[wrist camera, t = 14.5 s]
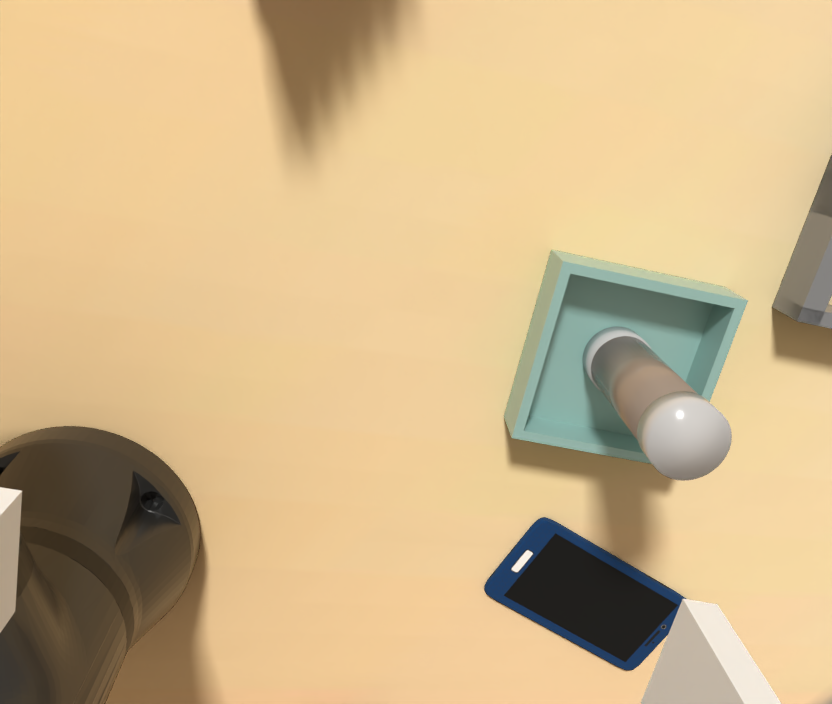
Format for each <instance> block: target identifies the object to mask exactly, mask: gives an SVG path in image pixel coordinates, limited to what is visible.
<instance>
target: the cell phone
mask: <svg viewBox="0 0 832 704" xmlns="http://www.w3.org/2000/svg"><path fill="white" fill-rule="evenodd" d="M484 589H485V592H486V594H487V595H489V596H490V597H492V598H493V599H495V600H496V601H498V602H500V603H502V604H503V605H505V606H507V607H509V608H511V609H513V610H514V611H516V612H518V613H520V614H522V615H524V616H525V617H527V618H529V619H531V620H533V621H535V622H537V623H538V624H540V625H542V626H544V627H546V628H548V629H549V630H551V631H553V632H555V633H557V634H559V635H560V636H562V637H564V638H566V639H568V640H570V641H571V642H573V643H575V644H577V645H579V646H581V647H582V648H584V649H586V650H588V651H590V652H592V653H594V654H595V655H597V656H599V657H601V658H603V659H605V660H606V661H608V662H610V663H612V664H614V665H616V666H618V667H620V668H622V669H624V670H633V669H634V668H636V667H637V666H638V665H640V664H641V663H642V662H643V660H644V659H645V658H646V657H647V656H648V655H649V654H650V653H651V652H652V651H653V650H654V649H655V648H656V647H657V645H658V644H659V643H660V642H661V641H662V640H663V639H664V638H665V637H666V636H667V635H668V634H669V631H670V629H671V626H672V624H673V622H674V619H675V617H676V614H677V612H678V609H679V607H680V604H681V602H682V599H686V598H684V597H683V596H681V595H680V594H678V593H677V592H675V591H674V590H672V589H670V588H669V587H667V586H665V585H663V584H662V583H660V582H658V581H657V580H655V579H653V578H651V577H650V576H648V575H646V574H645V573H643V572H641V571H639V570H638V569H636V568H634V567H633V566H631V565H629V564H627V563H626V562H624V561H622V560H621V559H619V558H617V557H615V556H614V555H612V554H610V553H609V552H607V551H605V550H603V549H602V548H600V547H598V546H597V545H595V544H593V543H591V542H590V541H588V540H586V539H585V538H583V537H581V536H579V535H578V534H576V533H574V532H573V531H571V530H569V529H567V528H566V527H564V526H562V525H561V524H559V523H557V522H555V521H553V520H551V519H548V518H545V517H543V518H540V519H538V520H537V521H536V522H535V523H534V524H533V525H532V526H531V527H530V528H529V530H528V531H527V532H526V533H525V534H524V536H523V537H522V538H521V539H520V541H519V542H518V543H517V544H516V545H515V547H514V548H513V549H512V550H511V552H510V553H509V554H508V555H507V557H506V558H505V559H504V560H503V561H502V563H501V564H500V565H499V566H498V568H497V569H496V570H495V571H494V573H493V574H492V575H491V576H490V577H489V579H488V580H487V582H486V584H485V588H484Z"/></svg>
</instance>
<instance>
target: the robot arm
mask: <svg viewBox="0 0 832 704" xmlns="http://www.w3.org/2000/svg"><path fill="white" fill-rule="evenodd" d="M199 545H200V526H199V520H198V516H197V512H196V509H195V506H194V503H193V501H192V499H191V497H190V495H189V493H188V491H187V489H186V488H185V486H184V485H183V483H182V482H181V480H180V479H179V478H178V476H177V475H176V474H175V473H174V472H173V471H172V469H171V468H170V467H169V466H168V465H167V464H165V463H164V462H163V461H162V460H161V459H160V458H158V457H157V456H156V455H155V454H153V453H152V452H150V451H149V450H147V449H146V448H144V447H142V446H141V445H139V444H137V443H135V442H133V441H131V440H129V439H127V438H124V437H122V436H119V435H117V434H114V433H111V432H107V431H103V430H99V429H94V428H87V427H76V426H64V427H52V428H45V429H40V430H36V431H33V432H30V433H27V434H24V435H21V436H19V437H17V438H15V439H13V440H11V441H9V442H8V443H6V444H4V445H3V446H1V447H0V704H105V703H106V700H107V698H108V696H109V693H110V691H111V689H112V686H113V684H114V682H115V679H116V677H117V674H118V672H119V670H120V668H121V665H122V663H123V660H124V658H125V656H126V654H127V651H128V650H129V649H130V648H131V647H132V646H133V645H134V644H135V643H136V642H137V641H138V640H139V639H140V638H141V637H142V636H144V635H145V634H146V633H147V632H148V631H149V630H150V629H151V628H152V627H153V626H154V625H155V624H156V623H157V622H158V621H159V620H160V619H162V618H163V617H164V616H165V615H166V614H167V613H168V612H169V611H170V610H171V609H172V607H173V606H174V605H175V603H176V602H177V601H178V599H179V598H180V596H181V595H182V593H183V591H184V589H185V587H186V585H187V583H188V581H189V578H190V575H191V573H192V570H193V568H194V565H195V563H196V560H197V556H198V552H199ZM641 704H781V702H780V701H779V699H778V697H777V696H776V694H775V693H774V691H773V690H772V688H771V687H770V685H769V683H768V682H767V680H766V679H765V677H764V676H763V674H762V673H761V671H760V670H759V668H758V666H757V665H756V663H755V662H754V660H753V659H752V657H751V656H750V654H749V652H748V651H747V649H746V648H745V646H744V645H743V643H742V642H741V640H740V639H739V637H738V635H737V634H736V632H735V631H734V629H733V628H732V626H731V625H730V623H729V621H728V620H727V618H726V617H725V615H724V614H723V612H722V611H721V609H720V608H719V606H718V604H713V603H706V602H700V601H694V600H688V599H682V602H681V604H680V607H679V609H678V612H677V614H676V617H675V619H674V622H673V624H672V626H671V629H670V631H669V634H668V636H667V639H666V641H665V644H664V646H663V649H662V651H661V654H660V656H659V659H658V661H657V664H656V666H655V668H654V671H653V673H652V676H651V678H650V681H649V683H648V686H647V688H646V691H645V693H644V696H643V698H642V701H641Z"/></svg>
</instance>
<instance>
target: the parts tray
mask: <svg viewBox="0 0 832 704" xmlns="http://www.w3.org/2000/svg"><path fill="white" fill-rule="evenodd" d="M747 302H748V300H746V299H744V298H743V297H741V296H739V295H737V294H736V293H734V292H732V291H731V290H729V289H727V288H726V287H723V286H718V285H713V284H709V283H704V282H699V281H695V280H690V279H686V278H681V277H676V276H672V275H667V274H662V273H658V272H653V271H648V270H644V269H639V268H634V267H630V266H625V265H620V264H616V263H611V262H607V261H602V260H597V259H593V258H588V257H583V256H579V255H574V254H569V253H565V252H560V251H555V250H551V252H550V256H549V260H548V263H547V267H546V270H545V274H544V277H543V281H542V284H541V288H540V291H539V295H538V298H537V302H536V305H535V309H534V312H533V316H532V319H531V323H530V326H529V330H528V333H527V337H526V340H525V344H524V347H523V351H522V354H521V358H520V361H519V365H518V368H517V372H516V375H515V379H514V383H513V386H512V390H511V393H510V397H509V400H508V404H507V407H506V411H505V414H504V419H505V421H506V424H507V427H508V430H509V432H510V435H511V438H514V439H520V440H525V441H530V442H536V443H541V444H547V445H552V446H558V447H563V448H568V449H574V450H579V451H585V452H590V453H596V454H601V455H606V456H612V457H617V458H623V459H628V460H634V461H639V462H644V463H650V464H652V463H651V462H650V460H649V459H648V457H647V456H646V455H645V453H644V452H643V451H642V449H641V447H640V445H639V442H638V440H637V439H636V438H635V436H634V435H633V434H632V432H631V431H630V430H629V428H628V427H627V426H626V424H625V423H624V421H623V420H622V419H621V417H620V416H619V415H618V413H617V412H616V411H615V409H614V408H613V407H612V405H611V404H610V403H609V401H608V400H607V398H606V397H605V396H604V394H603V393H602V392H601V391H600V390H599V389H598V388H597V387H596V386H595V385H594V384H593V382H592V381H591V380H590V378H589V377H588V375H587V374H586V372H585V370H584V367H583V362H582V358H583V352H584V349H585V347H586V345H587V343H588V342H589V340H590V339H591V338H592V337H593V336H594V335H595V334H596V333H598V332H599V331H601V330H603V329H606V328H609V327H615V326H620V327H626V328H629V329H631V330H633V331H635V332H636V333H637V334H638V335H639V336H640V337H641V338H642V339H643V340H644V341H646V342H647V344H648V345H649V346H650V347H651V349H652V351H654V352H655V353H656V354H657V355H658V356H659V357H660V358H661V359H662V360H663V361H664V362H665V363H666V364H667V365H668V366H669V367H670V368H671V369H672V370H673V371H674V372H675V373H677V374H678V375H679V376H680V377H681V378H682V379H683V380H684V381H685V382H686V383H687V384H688V385H689V386H690V387H691V388H692V389H693V390H694V391H695V392H696V393H697V394H699V395H701V396H703V397H704V398H705V399H707V400H708V401H709V402H710V399H711V396H712V394H713V391H714V389H715V386H716V383H717V381H718V378H719V375H720V373H721V370H722V367H723V365H724V362H725V360H726V357H727V354H728V352H729V349H730V346H731V344H732V341H733V339H734V336H735V333H736V331H737V328H738V325H739V323H740V320H741V317H742V315H743V312H744V310H745V307H746V304H747Z"/></svg>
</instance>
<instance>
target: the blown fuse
mask: <svg viewBox="0 0 832 704" xmlns="http://www.w3.org/2000/svg"><path fill="white" fill-rule="evenodd" d="M582 362H583V367H584V370H585V372H586V374H587V375H588V377H589V378H590V380H591V381H592V382H593V384H594V385H595V386H596V387H597V388H598V389H599V390H600V391H601V392H602V393H603V394H604V396H605V397H606V398H607V400H608V401H609V403H610V404H611V405H612V407H613V408H614V409H615V411H616V412H617V413H618V415H619V416H620V417H621V419H622V420H623V421H624V423H625V424H626V426H627V427H628V428H629V430H630V431H631V432H632V434H633V435H634V436H635V438H636V439H637V440H638V442H639V445H640V447H641V449H642V451H643V452H644V453H645V455H646V456H647V457H648V459H649V460H650V462H651V463H652V464H653V466H654V467H655V468H656V469H657V470H658V471H659V472H660V473H661V474H663V475H664V476H666V477H669V478H671V479H675V480H693V479H697V478H700V477H702V476H704V475H707V474H708V473H710V472H711V471H713V470H714V469H715V468H717V467H718V466H719V465H720V464H721V462H722V461H723V460H724V458H725V457H726V455H727V453H728V451H729V448H730V445H731V436H732V435H731V429H730V425H729V423H728V421H727V419H726V418H725V417H724V416H723V414H722V413H721V412H719V411H718V410H717V409H716V408H715V407H714V406H713V405H712V404H711V403H710V402H709V401H708V400H707V399H705V398H704V397H703V396H701V395H699V394H697V393H696V392H695V391H694V390H693V389H692V388H691V387H690V386H689V385H688V384H687V383H686V382H685V381H684V380H683V379H682V378H681V377H680V376H679V375H678V374H677V373H675V372H674V371H673V370H672V369H671V368H670V367H669V366H668V365H667V364H666V363H665V362H664V361H663V360H662V359H661V358H660V357H659V356H658V355H657V354H656V353H655V352H654V351H652V349H651V347H650V346H649V345H648V344H647V342H646V341H644V340H643V339H642V338H641V337H640V336H639V335H638V334H637V333H636V332H635V331H633V330H631V329H629V328H626V327H620V326H615V327H609V328H606V329H603V330H601V331H599V332H598V333H596V334H595V335H594V336H593V337H592V338H591V339H590V340H589V342H588V343H587V345H586V347H585V349H584V352H583V358H582Z"/></svg>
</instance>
